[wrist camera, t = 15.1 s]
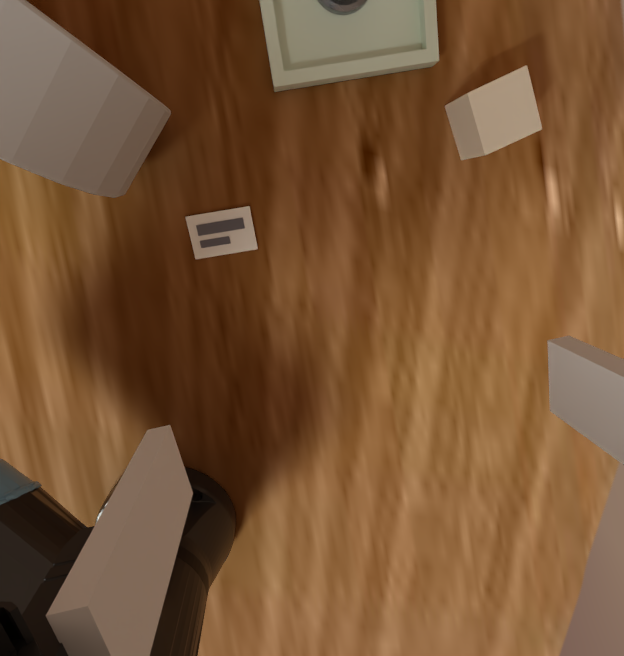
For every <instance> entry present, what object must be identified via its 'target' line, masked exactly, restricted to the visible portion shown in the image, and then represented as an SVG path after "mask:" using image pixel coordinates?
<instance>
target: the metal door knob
mask: <svg viewBox="0 0 624 656" xmlns="http://www.w3.org/2000/svg"><path fill="white" fill-rule="evenodd" d="M367 1H368V0H318V2H319V3H320V4H321V5H322V6H323V7H324V8H325V9H326V10H328V11H329V12H331V13H334V14H337V15H349V14H352V13H355V12H356V11H358V10H359V9H361V8H362V7H363V6H364V5H365V4H366V2H367Z"/></svg>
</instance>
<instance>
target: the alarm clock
mask: <svg viewBox="0 0 624 656" xmlns="http://www.w3.org/2000/svg"><path fill="white" fill-rule="evenodd" d="M170 115H171V111H170V110H169V108H167V107H166V106H165V105H164V104H163V103H161V102H160V101H159V100H157V99H156V98H155V97H153V96H152V95H151V94H150V93H148V92H147V91H146V90H144V89H143V88H142V87H140V86H139V85H138V84H136V83H135V82H134V81H133V80H131V79H130V78H129V77H127V76H126V75H125V74H123V73H122V72H121V71H119V70H118V69H117V68H115V67H114V66H113V65H111V64H110V63H109V62H107V61H106V60H105V59H103V58H102V57H101V56H99V55H98V54H97V53H95V52H94V51H93V50H92V49H90V48H89V47H88V46H86V45H85V44H84V43H82V42H81V41H80V40H78V39H77V38H76V37H74V36H73V35H72V34H70V33H69V32H68V31H66V30H65V29H64V28H62V27H61V26H60V25H58V24H57V23H56V22H54V21H53V20H52V19H50V18H49V17H48V16H46V15H45V14H44V13H42V12H41V11H40V10H38V9H37V8H36V7H34V6H33V5H32V4H30V3H29V2H28V1H26V0H0V159H2V160H4V161H6V162H8V163H10V164H13V165H15V166H18V167H20V168H23V169H25V170H28V171H30V172H32V173H35V174H37V175H40V176H42V177H45V178H47V179H49V180H52V181H54V182H57V183H59V184H63V185H66V186H69V187H72V188H75V189H78V190H81V191H84V192H88V193H91V194H94V195H100V196H106V197H113V198H116V197H119V196H122V195H125V193H126V192H127V190H128V188H129V186H130V185H131V183H132V181H133V180H134V178H135V176H136V174H137V173H138V171H139V169H140V167H141V166H142V164H143V162H144V160H145V159H146V157H147V155H148V153H149V152H150V150H151V148H152V146H153V145H154V143H155V141H156V139H157V138H158V136H159V134H160V132H161V131H162V129H163V127H164V126H165V124H166V122H167V120H168V119H169V117H170Z"/></svg>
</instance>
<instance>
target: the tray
mask: <svg viewBox="0 0 624 656" xmlns="http://www.w3.org/2000/svg"><path fill="white" fill-rule="evenodd" d="M259 2H260V8H261V14H262V20H263V27H264V33H265V39H266V45H267V51H268V57H269V63H270V69H271V75H272V81H273V87H274V92H279V91H285V90H291V89H297V88H304V87H310V86H316V85H322V84H329V83H335V82H341V81H347V80H353V79H360V78H366V77H372V76H378V75H385V74H391V73H397V72H403V71H410V70H416V69H422V68H428V67H432V66H434V65H435V64H436V63H437V62H438V61H439V47H438V29H437V11H436V0H368V1H367V2H366V4H365V5H364V6H363V7H362V8H361V9H359V10H358V11H356V12H355V13H352V14H349V15H337V14H334V13H331V12H329V11H328V10H326V9H325V8H324V7H323V6H322V5H321V4H320V3H319V2H318V0H259Z"/></svg>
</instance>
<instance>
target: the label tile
mask: <svg viewBox="0 0 624 656" xmlns="http://www.w3.org/2000/svg"><path fill="white" fill-rule="evenodd" d="M185 218H186V222H187V226H188V230H189V235H190V239H191V243H192V247H193V251H194V255H195V259H202V258H208V257H214V256H220V255H226V254H232V253H238V252H244V251H250V250H256V249H258V247H257V241H256V236H255V231H254V226H253V221H252V216H251V211H250V206H247V207H241V208H235V209H229V210H223V211H217V212H210V213H204V214H198V215H192V216H186V217H185Z"/></svg>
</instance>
